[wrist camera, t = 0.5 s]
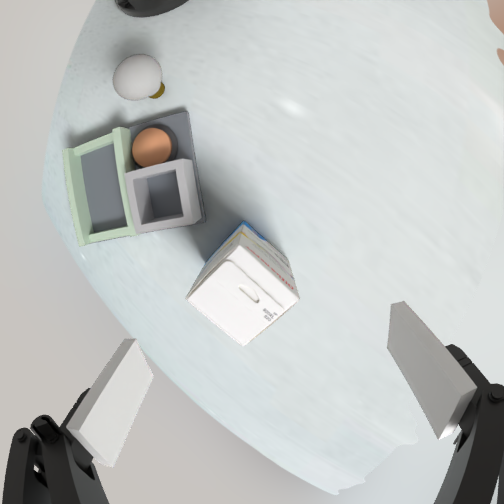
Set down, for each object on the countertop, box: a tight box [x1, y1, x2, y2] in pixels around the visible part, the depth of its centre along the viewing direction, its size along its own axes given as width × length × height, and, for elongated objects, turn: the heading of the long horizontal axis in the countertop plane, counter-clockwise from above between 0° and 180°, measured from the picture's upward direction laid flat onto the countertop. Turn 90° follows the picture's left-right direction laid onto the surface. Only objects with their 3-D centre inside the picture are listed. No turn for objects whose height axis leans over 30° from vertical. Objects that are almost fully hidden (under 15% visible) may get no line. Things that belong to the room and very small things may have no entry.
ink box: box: [185, 221, 300, 346], centre depth 32 cm, size 9×8×12 cm
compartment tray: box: [62, 111, 206, 247], centre depth 32 cm, size 15×19×6 cm
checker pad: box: [132, 128, 172, 167], centre depth 31 cm, size 5×5×1 cm
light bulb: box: [113, 54, 165, 100], centre depth 26 cm, size 6×6×10 cm
